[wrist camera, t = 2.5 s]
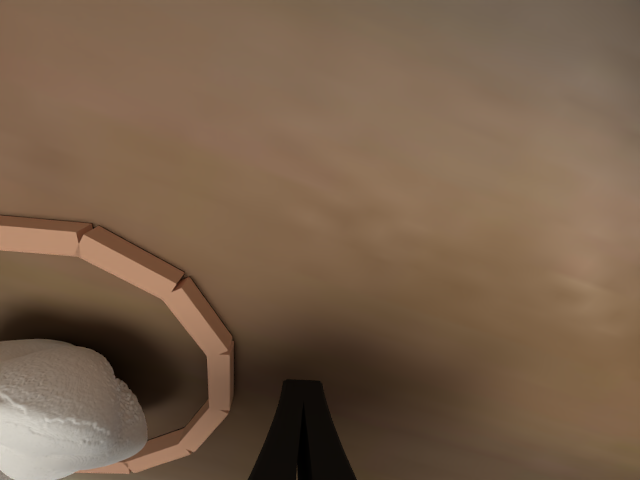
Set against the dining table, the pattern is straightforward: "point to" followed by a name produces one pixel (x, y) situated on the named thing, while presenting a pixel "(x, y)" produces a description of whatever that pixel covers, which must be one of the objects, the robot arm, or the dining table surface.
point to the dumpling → (63, 411)
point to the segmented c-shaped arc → (160, 283)
